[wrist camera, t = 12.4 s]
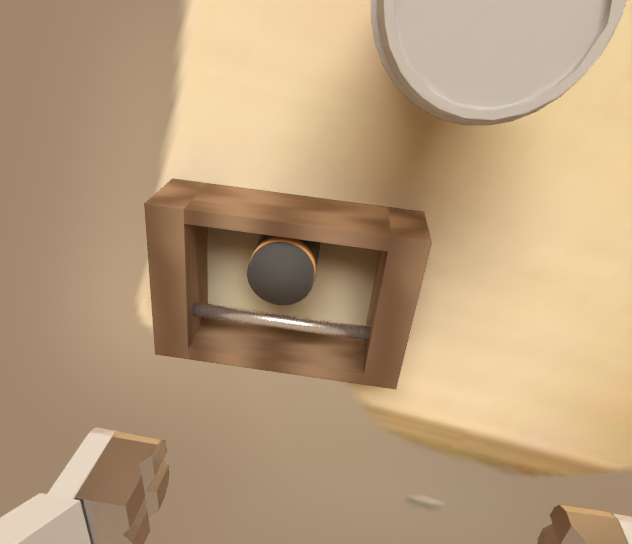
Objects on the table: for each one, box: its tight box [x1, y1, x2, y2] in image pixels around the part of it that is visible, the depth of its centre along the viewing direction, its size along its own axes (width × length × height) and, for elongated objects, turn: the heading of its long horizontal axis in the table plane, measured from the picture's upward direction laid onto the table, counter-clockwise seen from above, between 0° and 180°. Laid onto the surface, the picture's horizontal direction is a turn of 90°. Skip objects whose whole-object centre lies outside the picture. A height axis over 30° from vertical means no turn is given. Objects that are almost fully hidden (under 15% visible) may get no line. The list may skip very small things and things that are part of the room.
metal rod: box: [191, 302, 371, 341], centre depth 36 cm, size 15×1×1 cm, turn 84°
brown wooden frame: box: [144, 179, 432, 389], centre depth 36 cm, size 18×12×5 cm, turn 84°
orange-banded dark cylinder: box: [247, 234, 320, 305], centre depth 35 cm, size 4×4×5 cm
